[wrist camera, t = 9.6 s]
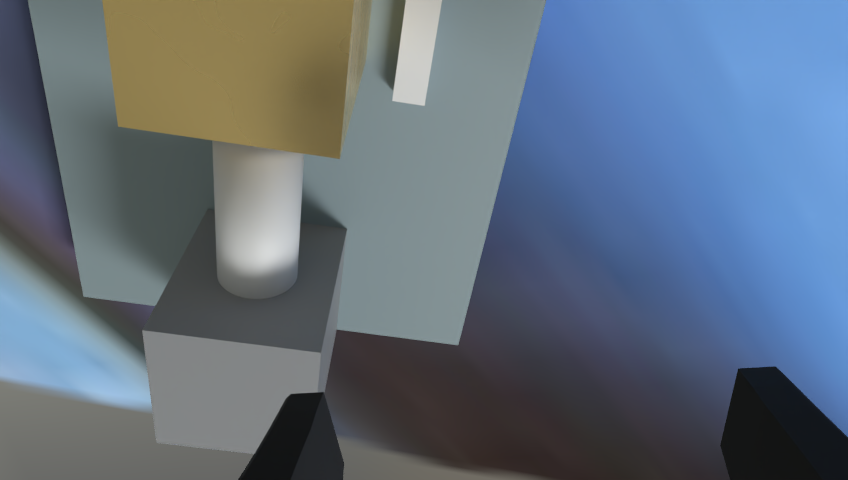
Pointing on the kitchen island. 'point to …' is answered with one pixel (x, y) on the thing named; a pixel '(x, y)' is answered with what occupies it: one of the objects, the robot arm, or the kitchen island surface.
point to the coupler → (239, 69)
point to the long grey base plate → (289, 211)
